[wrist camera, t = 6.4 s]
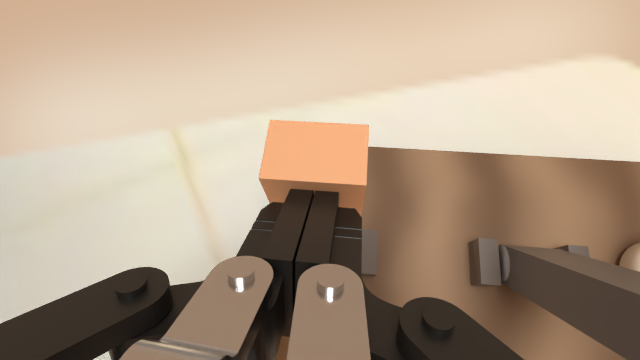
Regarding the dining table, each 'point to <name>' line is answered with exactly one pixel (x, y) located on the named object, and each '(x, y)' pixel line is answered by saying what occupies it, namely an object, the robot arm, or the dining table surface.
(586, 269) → the long grey beam
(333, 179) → the orange block
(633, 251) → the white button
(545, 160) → the switch board
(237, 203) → the dining table surface
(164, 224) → the dining table surface
